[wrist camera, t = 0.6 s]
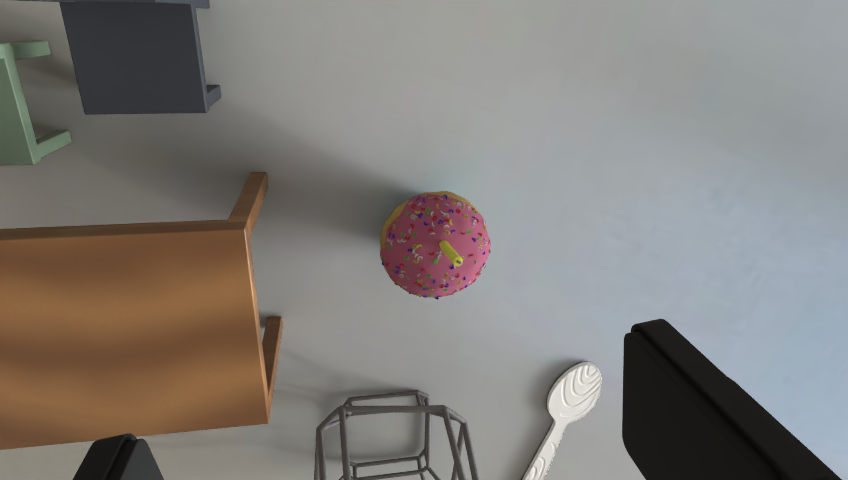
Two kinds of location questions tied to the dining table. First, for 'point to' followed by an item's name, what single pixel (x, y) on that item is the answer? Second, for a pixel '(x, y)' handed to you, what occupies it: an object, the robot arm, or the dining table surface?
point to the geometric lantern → (455, 447)
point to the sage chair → (22, 110)
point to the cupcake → (434, 244)
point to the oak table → (133, 329)
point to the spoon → (566, 411)
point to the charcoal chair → (138, 56)
